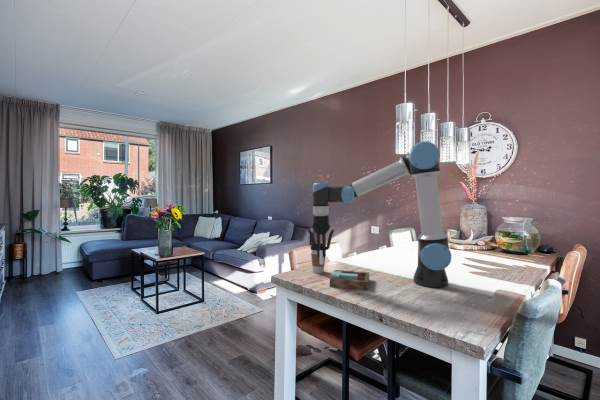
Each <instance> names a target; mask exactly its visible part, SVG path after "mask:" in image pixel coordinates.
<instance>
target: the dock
mask: <svg viewBox="0 0 600 400" xmlns="http://www.w3.org/2000/svg"><path fill="white" fill-rule="evenodd" d="M334 271H342V273H350V274H358V280H348V279H337V278H330V277H329V288H330V287H332V288H340V289H342V288H343V289H351V290H352V289H354V290H361V291H363V290H364V291H368V289H369V283H370V272H368V271H367V272H366V271H354V270H341V269H335V270H334Z"/></svg>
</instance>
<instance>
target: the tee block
mask: <svg viewBox="0 0 600 400" xmlns="http://www.w3.org/2000/svg"><path fill="white" fill-rule="evenodd" d="M330 278H337V279H348V280H358V274H350V273H342V271H335V270H333V271H332V272H331V274H330V275H329V279H330Z"/></svg>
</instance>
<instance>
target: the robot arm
mask: <svg viewBox="0 0 600 400" xmlns="http://www.w3.org/2000/svg"><path fill="white" fill-rule="evenodd" d="M440 157H441V153H440V150H439V148H438V147H437V145H436V144H434V143H432V142H430V141H425V140H424V141H419V142H417V143H415V144H414V145H413V146H412V147H411V148H410V149H409V152H408V153H407V154H405V155H403V156H401V157H400V158H399V160H398V161H395V162H394V163H391V164H389V165H387V166H385V167H383V168H381V169H379V170H376V171H374V172H373V173H370V174H368V175H366V176H364V177H362V178H360V179H357V180H356V181H354V182H352V183H349V184H347V185H345V186H329V182H315V183H313V184H312V193H311V194H312V214H313V215H312V223H313V224H312V226H311V228H310V229H307V232H308V234H309V235H310V236H309V237H310V241H311V244H313V248H314V249H316V250H317V256H318V257H320V265H323V264H324V257H325V258H326V255H327V254H326V252H327V250H329V249H330V247H331V243H332V238H333V234H334V232H335V231H336V230H335V229H333V228H331V226H330V218H329V217H330V216H329V214H330V212H329V209H330V208H329V206H330V205H329V204H330V203H345V204H346V203H348V204H349V203H353V202H354V201H355V199H356V198H359V197H361V196H362V195H364V194H367V193H369V192H371V191H374V190H375V189H378V188H380V187H382V186H384V185H386V184H389V183H391V182H393V181H395V180H398V179H401V178H402V177H404V176H411V177H412V178H414V179H415V188H416V190H415V191H416V197H417V206H418V213H419V214H418V216H419V224H420V225H419V226H420V232H421V233H420V234H419V235H418V237H417V238H418V239H417V243H418V244H417V248H418V249H417V250H418V251H417V267H416V270H415V272H414V275H413V283H415V284H416V285H418V286H421V285H422V287H425V286H426V287H427V288H432V287H443V288H446V287H445V286H447V287H448V286H449V279H448V276H447V271H446V268H447V267H449V265H450V264H451V262H452V253H451V250H450V246H449V238H448V235H447V234H445V233H444V230H443V220H442V211H441V203H440V196H439V195H440V194H439V185H438V175H439V174H440V173H441V169H440ZM314 232H315V234H316V238H315V235H314ZM327 233H329V234H328V238H327V237H326V236H327ZM321 238H322V239H321ZM321 240H322V250H320V249H321V244H320V243H321ZM326 241H327V242H326ZM316 244H317V245H316ZM324 265H325V264H324Z"/></svg>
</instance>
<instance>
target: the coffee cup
mask: <svg viewBox="0 0 600 400" xmlns="http://www.w3.org/2000/svg"><path fill="white" fill-rule="evenodd" d="M320 244H321V249H320V250H322V243H321V242H320ZM316 245H317V243H316ZM310 251H311V252H310V256H311V269H312V273H314V274H319V275H320V274H323V273H324V272H325V263H326V256H325V257H324V264H323V265H320V257H318V256H317V250H316V249H314V248H313V244H312V243H311V244H310Z"/></svg>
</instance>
